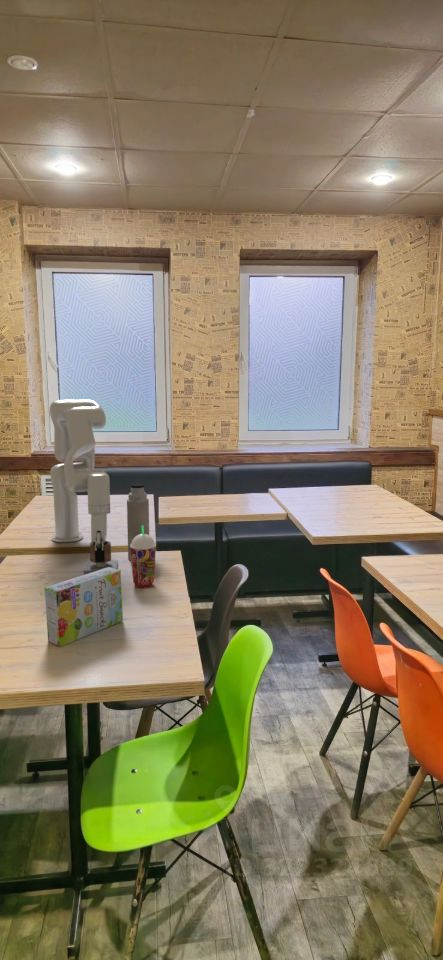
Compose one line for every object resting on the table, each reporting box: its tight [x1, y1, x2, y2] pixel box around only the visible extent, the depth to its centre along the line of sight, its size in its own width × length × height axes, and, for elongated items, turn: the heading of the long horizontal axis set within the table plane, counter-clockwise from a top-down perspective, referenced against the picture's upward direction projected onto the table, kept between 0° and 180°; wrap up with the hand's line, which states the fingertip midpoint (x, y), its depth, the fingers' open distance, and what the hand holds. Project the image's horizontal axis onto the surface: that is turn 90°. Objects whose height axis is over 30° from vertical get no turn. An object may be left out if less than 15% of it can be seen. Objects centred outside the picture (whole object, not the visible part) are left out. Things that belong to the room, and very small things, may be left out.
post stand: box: [83, 559, 119, 575], centre depth 212 cm, size 11×11×6 cm
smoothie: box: [130, 526, 157, 589], centre depth 195 cm, size 8×8×20 cm
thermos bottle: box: [126, 483, 150, 561], centre depth 223 cm, size 8×8×28 cm
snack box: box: [44, 567, 124, 648], centre depth 161 cm, size 21×6×15 cm, turn 141°
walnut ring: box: [89, 540, 112, 563], centre depth 212 cm, size 7×7×6 cm
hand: (100, 557), depth 212 cm, fingers closed on walnut ring, 7 cm apart
